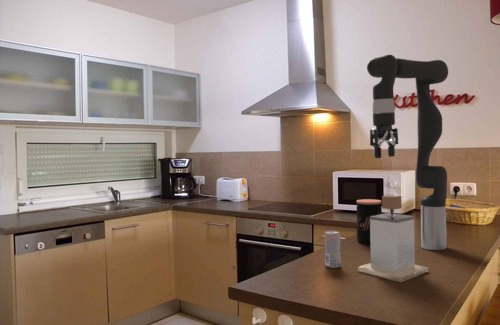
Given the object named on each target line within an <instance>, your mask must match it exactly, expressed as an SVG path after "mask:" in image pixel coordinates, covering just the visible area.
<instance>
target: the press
mask: <svg viewBox="0 0 500 325" xmlns="http://www.w3.org/2000/svg"><path fill="white" fill-rule="evenodd" d="M369 245H370V262H369V263H366V264H363V265H360V266H357V272H360V273H362V274H367V275H371V276H374V277H378V278H382V279H386V280H389V281H394V282H399V283H403V282H405V281H408V280H411V279H414V278H416V277H419V276H422V275H423V274H426V273H428V272H429V266H425V265H424V266H423V265H418V264H415V261H416V260H415V258H416V257H415V253H416V252H415V216H414V215H407V214H399V213H398V214H397V213H394V217H390V212H385V213H382V214H380V215H375V216H370V244H369Z"/></svg>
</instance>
